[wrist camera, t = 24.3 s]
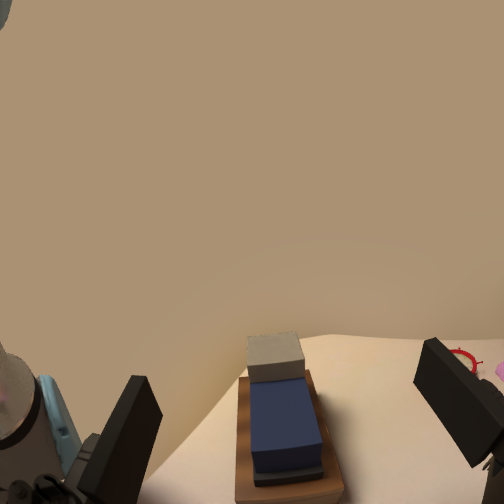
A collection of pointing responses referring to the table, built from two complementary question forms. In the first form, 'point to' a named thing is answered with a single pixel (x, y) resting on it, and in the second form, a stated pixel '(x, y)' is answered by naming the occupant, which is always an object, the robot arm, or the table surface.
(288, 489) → the low wooden table
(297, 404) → the stacked block toy
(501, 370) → the pink table lamp
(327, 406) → the table surface
